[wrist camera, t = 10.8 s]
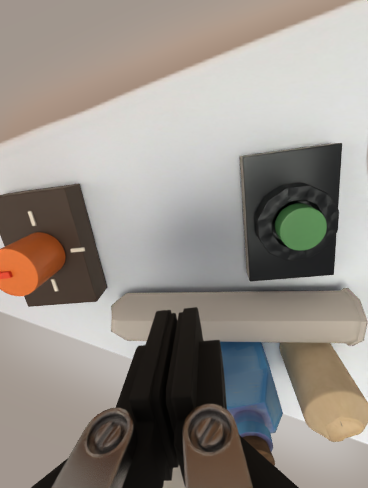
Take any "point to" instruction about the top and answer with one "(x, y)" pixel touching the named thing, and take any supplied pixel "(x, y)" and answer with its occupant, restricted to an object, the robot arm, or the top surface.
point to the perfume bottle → (251, 394)
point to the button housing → (282, 195)
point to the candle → (325, 390)
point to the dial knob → (29, 263)
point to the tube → (250, 315)
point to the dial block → (66, 232)
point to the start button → (300, 226)
